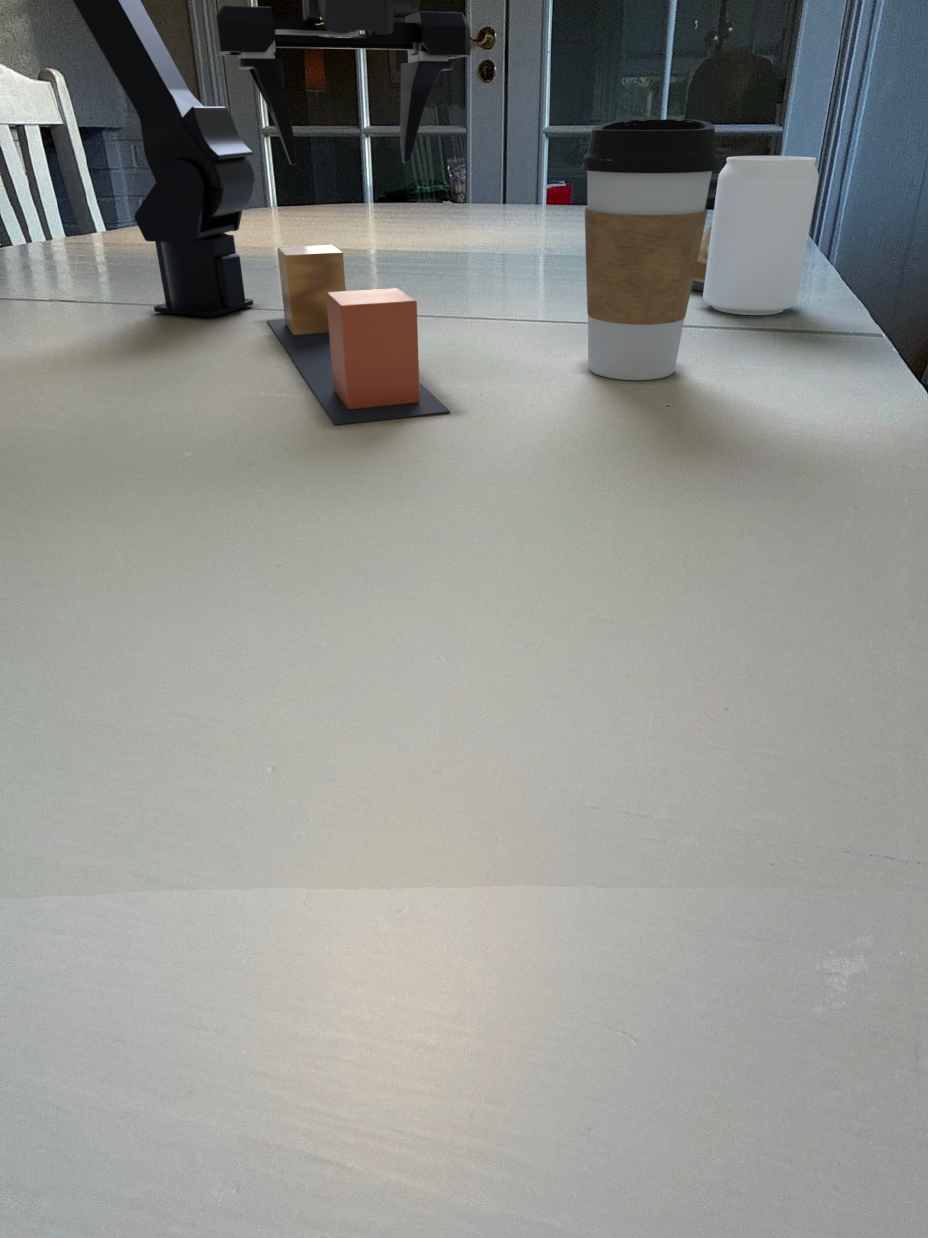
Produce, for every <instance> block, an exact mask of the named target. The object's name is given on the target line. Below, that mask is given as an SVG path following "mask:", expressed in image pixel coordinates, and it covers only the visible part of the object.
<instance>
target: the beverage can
mask: <svg viewBox="0 0 928 1238" xmlns="http://www.w3.org/2000/svg"><path fill="white" fill-rule="evenodd" d="M725 161H726V164H725V165H724V167H723V168H722V169H721V170H720V172H719V173H718V177H717V182H716V183H717V184H716V185H717V186H716V190H715V192H716V193H715V198H714V199H715V200H714V206H713V207H714V208H713V215H712V222H711V224H712V230H711V238H710V245H709V253H708V261H707V269H706V276H705V284H704V291H702V300H703V302H704V303H706V304H707V305H709V306H711V307H712V308H713V309H714V310H717V311H718V312H723V313H728V314H733V315H745V316H746V315H747V316H769V315H777V314H780V313H782V312H784V310H787V309H791V308H793V307H794V306H795V305H796V304H797V301H798V297H799V291H800V286H801V279H802V273H803V269H804V263H805V256H806V253H807V246H808V240H809V235H810V230H811V224H812V219H813V213H814V208H815V203H816V198H817V192H818V185H819V179H820V175H819V171H818V169H817V167H816V165H815V163H816V162H817V158H816V157H811V156H795V155H794V156H793V155H738V156H737V155H735V156H728V157H726V160H725Z"/></svg>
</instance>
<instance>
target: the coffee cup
mask: <svg viewBox="0 0 928 1238" xmlns="http://www.w3.org/2000/svg"><path fill="white" fill-rule="evenodd" d="M715 138H716V126H715V124H713V123H711V122H710V121H709V122H708V121H704V120H699V119H685V118H683V119H682V118H679V119H678V118H677V119H676V118H675V119H673V118H672V119H671V118H661V119H660V118H659V119H657V118H656V119H654V118H653V119H651V118H650V119H645V118H644V119H626V120H625V119H624V120H618V121H612V122H607V123H603V124H600V125H596V126H594V127H593V128H592V130H591V133H590V139H589V144H588V149H587V153H586V154H584V155H583V157H582V160H583V161H582V165H581V170H582V171H586V172H587V173H586V174H587V175H586V176H587V177H586V179H587V207H585V208H584V237H585V238H584V239H585V241H584V242H585V243H584V244H585V277H586V315H587V355H588V356H587V366H588V369H589V371H590V372H591V373H593V374H595V375H598V376H600V377H605V378H608V379H614V380H622V381H650V380H652V381H653V380H658V379H663V378H666V377H669V376H672V374H674V372H675V369H676V365H677V361H678V360H677V359H678V356H679V355H678V354H679V349H680V342H681V338H682V332H683V327H684V322H685V318H686V315H687V311H688V306H689V301H690V296H691V292H692V289H691V287H692V283H693V278H694V273H695V269H696V264H697V259H698V254H699V250H700V245H701V240H702V236H703V232H705V231H704V230H705V226H706V222H707V221H706V220H707V216H708V212H709V210H708V209H707V208H706V206H707V200H708V194H709V189H710V184H711V179H712V173H713V172H716V171H719V169H720V168H719V156H718V154H717V153H716V139H715Z"/></svg>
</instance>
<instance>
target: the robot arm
mask: <svg viewBox="0 0 928 1238" xmlns="http://www.w3.org/2000/svg"><path fill="white" fill-rule="evenodd" d="M71 2H72V3H73V5H74V7H75V8H76V10H77V12H78V14H79V15H80V17H81V19H82V21H83V22H84V24H85V26H86V28H87V29H88V31H89V33H90V34H91V36H92V38H93V40H94V42H95V43H96V45H97V47H98V49H99V50H100V52H101V54H102V56H103V58H104V59H105V61H106V62H107V64H108V66H109V68H110V69H111V71H112V73H113V75H114V76H115V78H116V80H117V82H118V84H119V85H120V87H121V89H122V90H123V92H124V94H125V96H126V98H127V99H128V101H129V103H130V105H131V106H132V108H133V110H134V112H135V113H136V115H137V118H138V121H139V126H140V133H141V134H140V135H141V140H142V147H143V154H144V155H143V156H144V159H145V162H146V165H147V167H148V169H149V171H150V173H151V176H152V178H153V181H154V185H153V186H152V187H151V189H150V190H149V192H148V194H147V195H146V196H145V198H144V200H143V201H142V202H141V204H140V206H139V207H138V208H137V210H136V211H135V213H134V216H133V217H134V219H135V222H136V224H137V227H138V229H139V230H140V233H141V235H142V237H143V240H144V241H146V242H154V244H155V250H156V256H157V261H158V267H159V273H160V278H161V279H160V280H161V284H162V290H163V297H164V303H161V304H157V305H154V306H153V310H154V312H155V313H164V314H173V315H183V316H193V317H201V318H213V317H216V316H219V315H224V314H226V313H231V312H233V311H238V310H240V309H243V308H246V307H251V306H253V305H254V299H252V298H246V295H245V288H244V280H243V271H242V270H243V269H242V262H241V257H240V254H239V253H237V251H236V243H235V242H236V241H235V235H234V234H228V233H230V232H237V231H239V229H240V225H241V220H242V215H243V209H244V208H246V207H247V205H248V204H249V202H250V200H251V198H252V196H253V191H254V184H255V183H256V178H255V171H254V169H253V166H252V164H251V162H250V160H249V158H248V157H253V155H254V152H253V151H252V150H251V149H250V148H249V147H248V146H247V145H246V144H245V143H244V141H243V140H242V138H241V137H240V135H239V132H238V129H237V127H236V124H235V122H234V119H233V116H232V115H231V113H230V111H229V110H228V108H227V107H226V106H204V105H203V104H202V103H201V102H200V101H199V99H197V98H196V97H195V95H193V93H192V92H191V91H190V89H189V87H188V85H187V84H186V82H185V80H184V78H183V76H182V75H181V73H180V71H179V69H178V66H177V65H176V64H175V61H174V60H173V58H172V56H171V54H170V52H169V51H168V49H167V47H166V46H165V44H164V41H163V39H162V38H161V35H160V34H159V32H158V30H157V29H156V27H155V25H154V22H153V21H152V20H151V18H150V16H149V14H148V12H147V10H146V9H145V7H144V4H143V3H142V1H141V0H71ZM301 3H302V17H303V19H291V18H290V19H288V18H287V19H285V18H283V19H282V18H274V15H273V10H272V7H271V6H247V5H245V6H244V5H222V7H221V8H220V9H219V11H218V12H217V13H216V15H215V16H214V18H213V19H212V21H213V34H214V42H215V49H216V50H215V51H216V56H226V57H237V60H236V61H234V63H235V69H236V70H246V71H248V72H249V74H250V75H251V78H252V80H253V81H254V83H255V85H256V87H257V89H258V91H259V93H260V95H261V97H262V99H263V100H264V103H265V104H266V107H267V109H268V112H269V114H270V116H271V119H272V121H273V124H274V126H275V129H276V131H277V132H276V133H277V134H278V137H279V139H280V142H281V144H282V146H283V147H282V148H283V149H284V152H285V155H286V157H287V160H288V162H289V164H290V165H291V166H296V165H297V153H296V152H297V151H296V141H295V136H294V135H295V134H294V130H293V125H292V120H291V114H290V110H289V103H288V98H287V93H286V88H285V81H284V71H283V62H282V61H283V60H282V58H275V53H276V51H277V49H278V48H280V49H283V48H284V49H335V50H336V49H337V50H387V51H388V50H390V51H392V50H394V51H395V50H396V51H406V52H407V62H404V63H401V64H400V103H399V104H400V106H399V107H400V108H399V109H400V110H399V111H400V112H399V113H400V115H399V117H400V120H399V121H400V122H399V145H400V153H401V154H400V155H401V162H402V163H403V164H410V162H411V159H412V154H413V151H414V147H415V143H416V140H417V136H418V132H419V129H420V125H421V121H422V118H423V114H424V110H425V106H426V104H427V100H428V99H429V96H430V94H431V91H432V89H433V86H434V85H435V83H436V81H437V80H438V78H439V76H440V74H441V72H444V71H451V70H453V68H454V63H455V62H454V61H451V60H453V59H459V58H465V57H470V56H471V28H470V23H469V21H468V19H467V18H466V16H465V15H464V13H463V12H456V11H455V12H454V11H453V12H452V11H451V12H450V11H419V10H420V7H421V6H420V5H421V0H301ZM395 13H400V14H401V13H403V14H408V15H406V16H405V17H404V18H405V19H404V22H402V21H401V22H400V21H395ZM318 25H319V26H320V25H323V27H324V28H325V29H326V30H323V29H321V30H320V29H317V26H318ZM361 31H363V32H365V31H366V32H368V33H361ZM276 48H277V49H276Z"/></svg>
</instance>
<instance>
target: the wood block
mask: <svg viewBox="0 0 928 1238" xmlns="http://www.w3.org/2000/svg"><path fill="white" fill-rule="evenodd" d="M276 250H277V259H278V270H279V277H280V285H281V286H280V288H281V297H282V307H283V316H284V319H285V324H286V326H287V327H288V328H289V330H290V331H291V332H292V334H293V335H306V334H320V333H329V324H328V312H327V300H326V293H327V292H341V291H347V290H346V275H345V262H344V260H345V259H344V252H343V251H342V250H340V249H338V248H337V247H335V246H334V245H333V244H325V245H303V246H302V245H301V246H284V247H282V246H281V247H277V248H276Z"/></svg>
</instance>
